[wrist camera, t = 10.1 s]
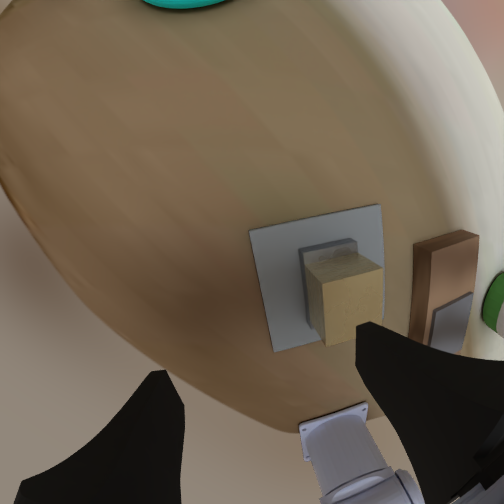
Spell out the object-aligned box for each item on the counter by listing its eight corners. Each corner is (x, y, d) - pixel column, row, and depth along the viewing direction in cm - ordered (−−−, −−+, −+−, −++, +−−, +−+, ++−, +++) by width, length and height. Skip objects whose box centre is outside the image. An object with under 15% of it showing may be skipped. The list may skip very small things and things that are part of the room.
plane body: (441, 367, 26) (454, 380, 23) (398, 390, 25) (410, 406, 22) (461, 229, 21) (482, 236, 18) (413, 244, 20) (435, 253, 17)
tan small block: (353, 309, 21) (380, 338, 16) (306, 322, 20) (326, 356, 16) (349, 237, 19) (383, 255, 15) (298, 248, 19) (320, 270, 14)
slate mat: (381, 316, 22) (383, 318, 21) (273, 349, 21) (274, 352, 21) (377, 203, 19) (380, 204, 19) (248, 230, 18) (249, 231, 18)
